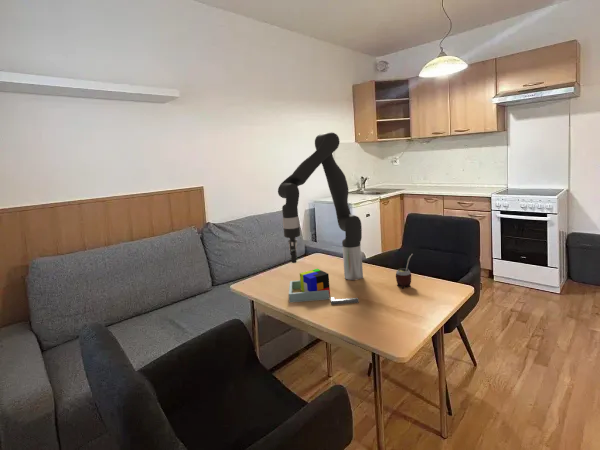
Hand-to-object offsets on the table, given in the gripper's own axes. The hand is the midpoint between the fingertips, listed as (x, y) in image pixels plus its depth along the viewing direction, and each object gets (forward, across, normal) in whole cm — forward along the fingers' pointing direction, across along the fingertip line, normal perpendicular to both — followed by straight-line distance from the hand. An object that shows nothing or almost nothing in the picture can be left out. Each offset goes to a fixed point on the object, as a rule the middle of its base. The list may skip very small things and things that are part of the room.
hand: (294, 260), depth 178 cm
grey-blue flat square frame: (+17, 0, -6) cm, 18 cm away
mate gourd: (+17, 0, -51) cm, 54 cm away
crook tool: (+17, -13, -21) cm, 30 cm away
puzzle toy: (+18, 0, -9) cm, 20 cm away
